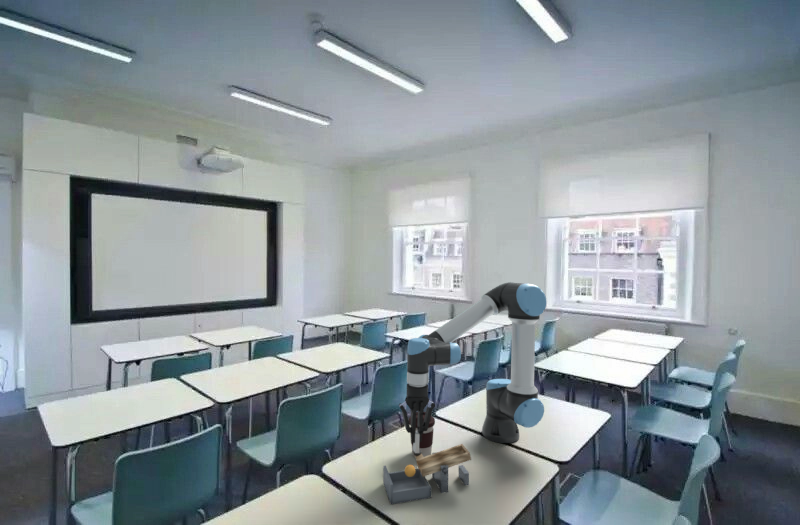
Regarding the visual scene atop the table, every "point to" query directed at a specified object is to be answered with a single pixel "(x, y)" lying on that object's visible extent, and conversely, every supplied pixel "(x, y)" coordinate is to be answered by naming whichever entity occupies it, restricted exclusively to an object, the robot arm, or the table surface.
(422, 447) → the coffee cup
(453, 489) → the table surface
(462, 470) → the post
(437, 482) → the fulcrum
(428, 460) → the lever
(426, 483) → the tray
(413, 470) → the ball
